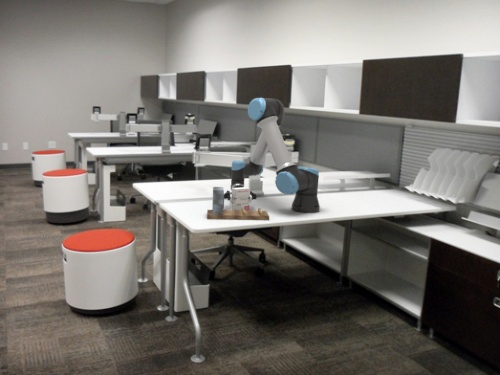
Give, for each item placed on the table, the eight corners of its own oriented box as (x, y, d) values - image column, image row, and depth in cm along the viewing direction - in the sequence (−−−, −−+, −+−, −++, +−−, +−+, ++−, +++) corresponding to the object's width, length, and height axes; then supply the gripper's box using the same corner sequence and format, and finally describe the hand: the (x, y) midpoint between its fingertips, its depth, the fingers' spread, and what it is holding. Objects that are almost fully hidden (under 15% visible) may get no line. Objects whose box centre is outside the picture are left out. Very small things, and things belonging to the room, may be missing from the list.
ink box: (245, 208, 251) (246, 186, 249) (249, 210, 247) (250, 188, 244) (230, 209, 247) (231, 187, 245) (234, 212, 242) (235, 189, 240)
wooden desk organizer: (266, 214, 242) (267, 187, 240) (269, 220, 232) (270, 191, 229) (207, 213, 240) (208, 186, 237) (207, 218, 229) (207, 190, 226)
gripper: (258, 198, 265) (262, 207, 243) (218, 197, 263) (219, 206, 241) (258, 185, 263) (263, 192, 241) (218, 184, 261) (219, 191, 239)
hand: (241, 199), depth 241 cm, fingers closed on ink box, 9 cm apart
